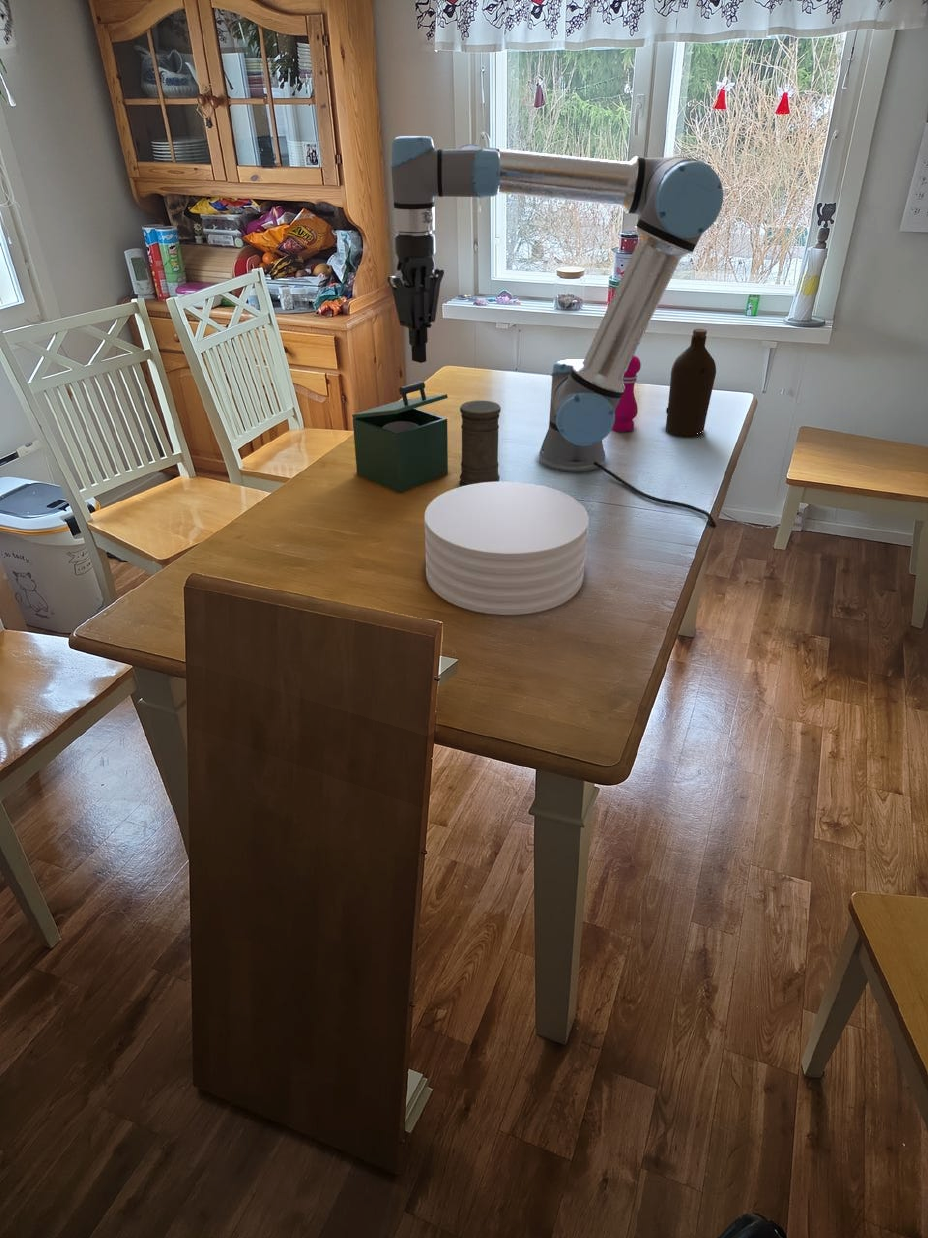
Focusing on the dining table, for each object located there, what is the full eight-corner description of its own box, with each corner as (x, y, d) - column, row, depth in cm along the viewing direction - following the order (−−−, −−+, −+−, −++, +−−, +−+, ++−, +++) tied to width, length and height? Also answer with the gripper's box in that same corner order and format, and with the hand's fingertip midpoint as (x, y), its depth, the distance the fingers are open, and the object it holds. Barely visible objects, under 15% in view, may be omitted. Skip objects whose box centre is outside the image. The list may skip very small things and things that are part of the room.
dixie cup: (391, 480, 174) (389, 436, 168) (379, 466, 180) (376, 424, 175) (426, 474, 177) (425, 430, 171) (413, 461, 183) (411, 418, 178)
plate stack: (609, 600, 134) (617, 540, 127) (450, 626, 127) (449, 564, 121) (548, 528, 156) (552, 474, 150) (410, 547, 149) (407, 491, 143)
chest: (448, 473, 179) (447, 418, 172) (399, 492, 170) (396, 435, 163) (404, 456, 188) (402, 403, 181) (356, 473, 179) (352, 418, 172)
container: (496, 497, 168) (498, 414, 159) (455, 493, 170) (454, 411, 160) (503, 480, 176) (505, 400, 166) (463, 477, 177) (463, 397, 167)
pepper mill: (639, 426, 205) (649, 347, 194) (628, 434, 200) (638, 353, 189) (613, 421, 209) (622, 343, 198) (602, 429, 204) (610, 349, 193)
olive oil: (714, 432, 202) (732, 330, 188) (688, 442, 196) (704, 337, 182) (680, 421, 208) (695, 322, 195) (654, 430, 203) (668, 329, 189)
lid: (448, 397, 169) (443, 375, 168) (396, 413, 161) (391, 390, 159) (403, 403, 180) (398, 382, 179) (352, 418, 172) (347, 396, 170)
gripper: (402, 238, 142) (407, 371, 155) (453, 231, 149) (454, 358, 162) (375, 234, 146) (382, 363, 159) (426, 227, 154) (429, 351, 167)
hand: (419, 360), depth 161 cm, fingers closed
